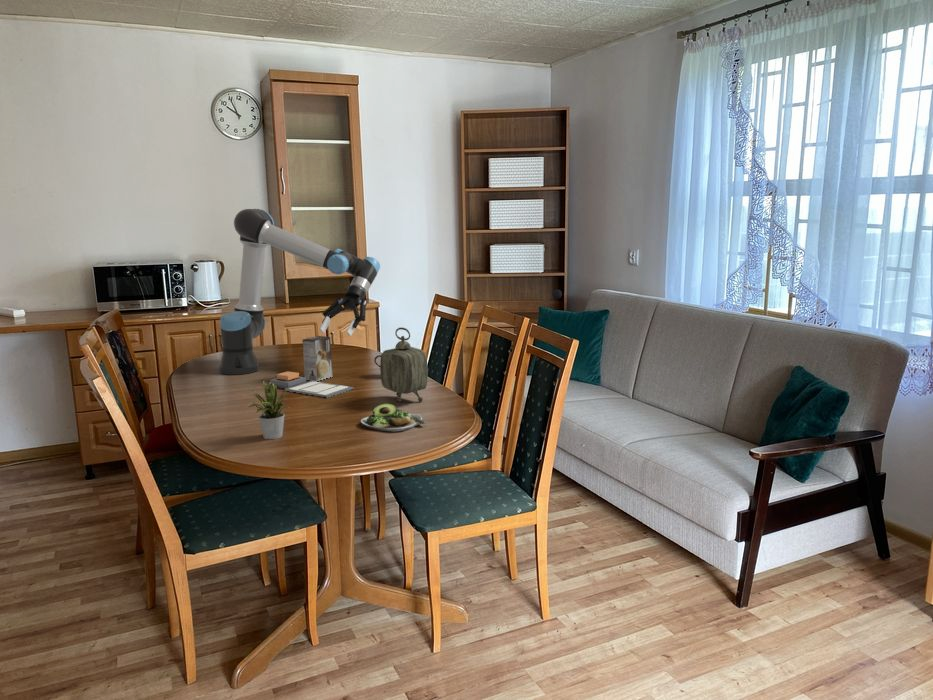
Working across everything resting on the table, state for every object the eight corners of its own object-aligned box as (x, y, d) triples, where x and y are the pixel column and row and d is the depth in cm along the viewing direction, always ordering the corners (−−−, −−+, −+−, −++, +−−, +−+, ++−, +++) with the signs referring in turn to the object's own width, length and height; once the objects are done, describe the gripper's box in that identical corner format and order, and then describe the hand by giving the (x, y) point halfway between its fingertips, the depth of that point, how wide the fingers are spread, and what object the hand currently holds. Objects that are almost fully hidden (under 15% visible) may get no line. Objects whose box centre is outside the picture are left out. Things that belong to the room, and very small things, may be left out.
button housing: (270, 386, 252) (269, 379, 252) (288, 381, 260) (287, 374, 259) (288, 389, 247) (288, 382, 247) (306, 384, 255) (306, 377, 255)
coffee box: (320, 375, 269) (318, 335, 265) (333, 377, 266) (331, 336, 262) (304, 380, 261) (301, 339, 258) (317, 382, 258) (315, 340, 255)
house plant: (237, 433, 198) (233, 378, 194) (283, 425, 205) (280, 372, 202) (253, 447, 186) (249, 388, 183) (302, 437, 194) (298, 381, 191)
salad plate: (439, 421, 210) (439, 406, 209) (407, 437, 194) (406, 422, 194) (387, 412, 219) (387, 398, 218) (352, 428, 204) (352, 413, 203)
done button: (276, 378, 252) (276, 374, 252) (287, 375, 257) (287, 371, 257) (288, 380, 249) (287, 376, 249) (299, 377, 254) (298, 373, 254)
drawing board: (284, 391, 245) (284, 388, 245) (311, 382, 257) (311, 380, 257) (327, 398, 235) (327, 395, 235) (353, 389, 247) (353, 386, 247)
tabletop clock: (428, 401, 230) (427, 328, 225) (408, 407, 223) (407, 331, 218) (398, 394, 239) (396, 323, 235) (379, 400, 233) (376, 327, 228)
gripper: (386, 297, 275) (364, 340, 265) (338, 294, 287) (315, 335, 277) (378, 285, 269) (355, 329, 259) (329, 283, 281) (305, 324, 272)
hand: (334, 332), depth 268 cm, fingers open, 13 cm apart
